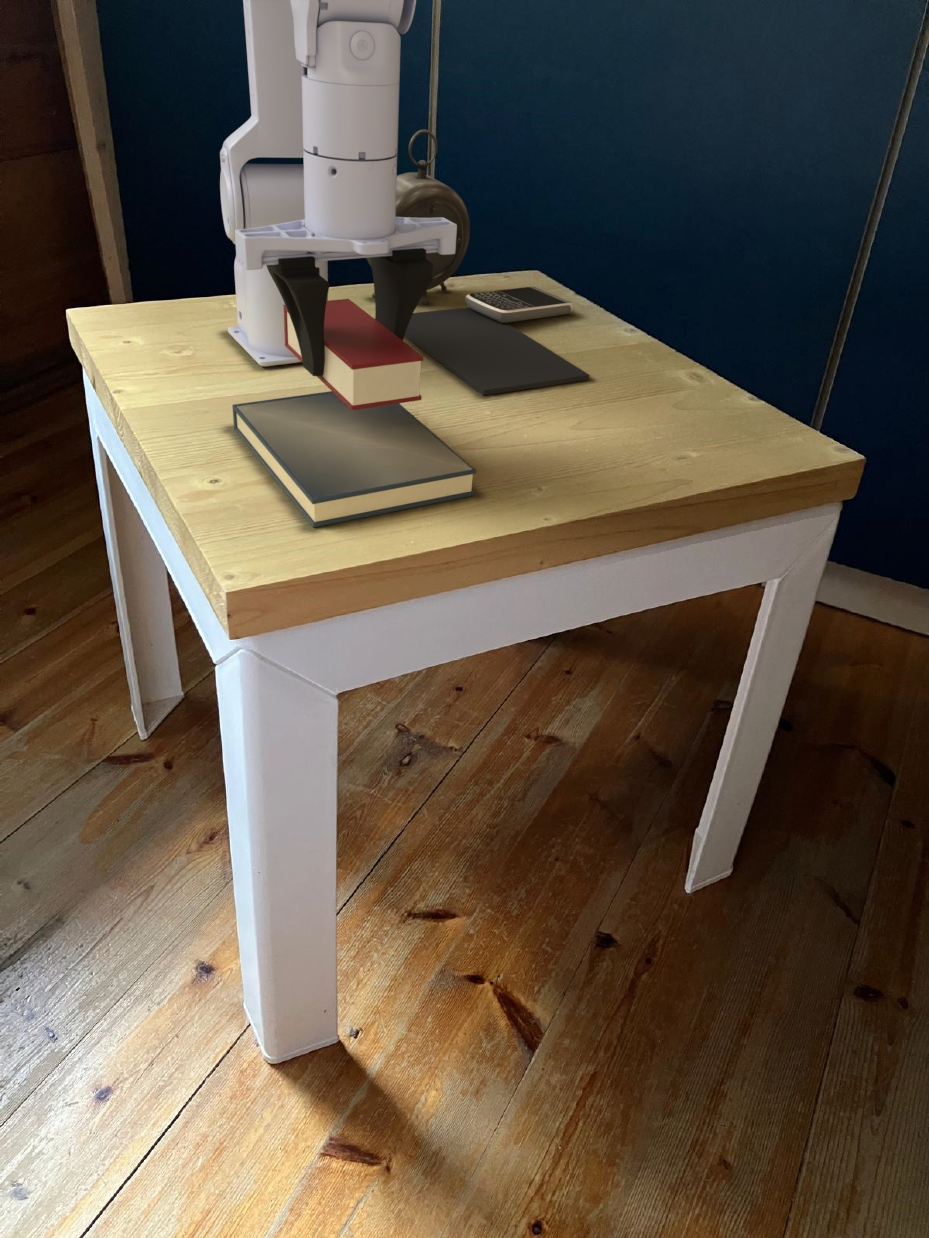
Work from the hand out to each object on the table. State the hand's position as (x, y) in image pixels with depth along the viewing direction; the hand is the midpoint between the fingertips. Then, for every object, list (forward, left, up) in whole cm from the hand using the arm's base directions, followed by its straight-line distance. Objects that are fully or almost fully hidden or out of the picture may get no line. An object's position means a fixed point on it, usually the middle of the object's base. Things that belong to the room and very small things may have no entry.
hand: (349, 366), depth 68 cm
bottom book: (0, 0, -7) cm, 7 cm away
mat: (-17, +21, -7) cm, 28 cm away
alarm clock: (-33, +22, -7) cm, 40 cm away
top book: (0, 0, 0) cm, 0 cm away
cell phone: (-25, +30, -7) cm, 40 cm away
